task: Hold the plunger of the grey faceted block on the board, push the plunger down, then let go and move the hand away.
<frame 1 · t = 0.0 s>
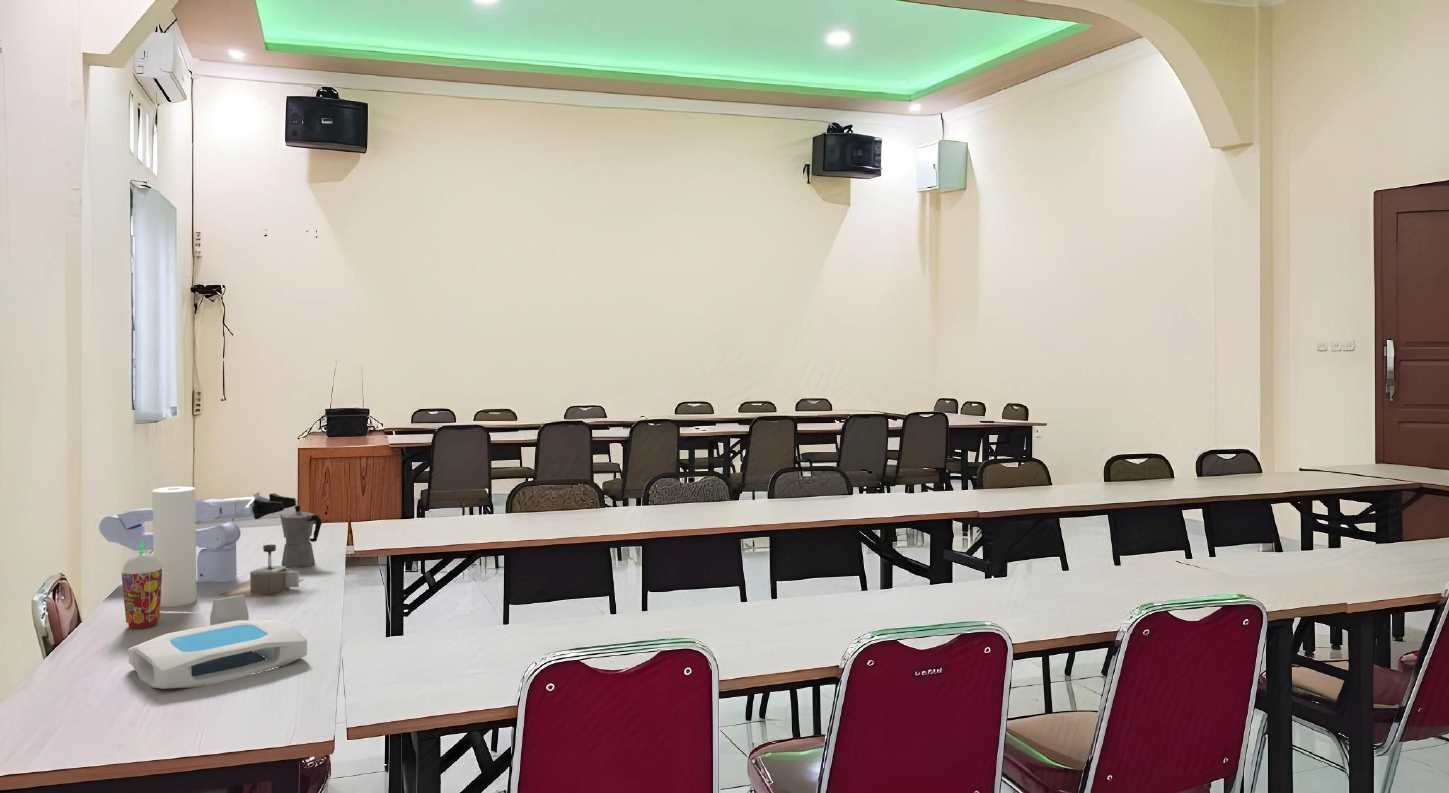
hand: (289, 504, 268), 22 cm above the table, tool horizontal, fingers open, 7 cm apart
coffeepot: (301, 565, 289), on the table
tea bag: (229, 642, 215), on the table
smoothie: (143, 626, 225), on the table
grey faceted block: (270, 589, 257), resting on board
plunger: (269, 560, 257), point 9 cm above the table, slide at 0.0 cm
board: (262, 589, 259), on the table
document scanner: (219, 667, 199), on the table
cylinder container: (175, 604, 244), on the table
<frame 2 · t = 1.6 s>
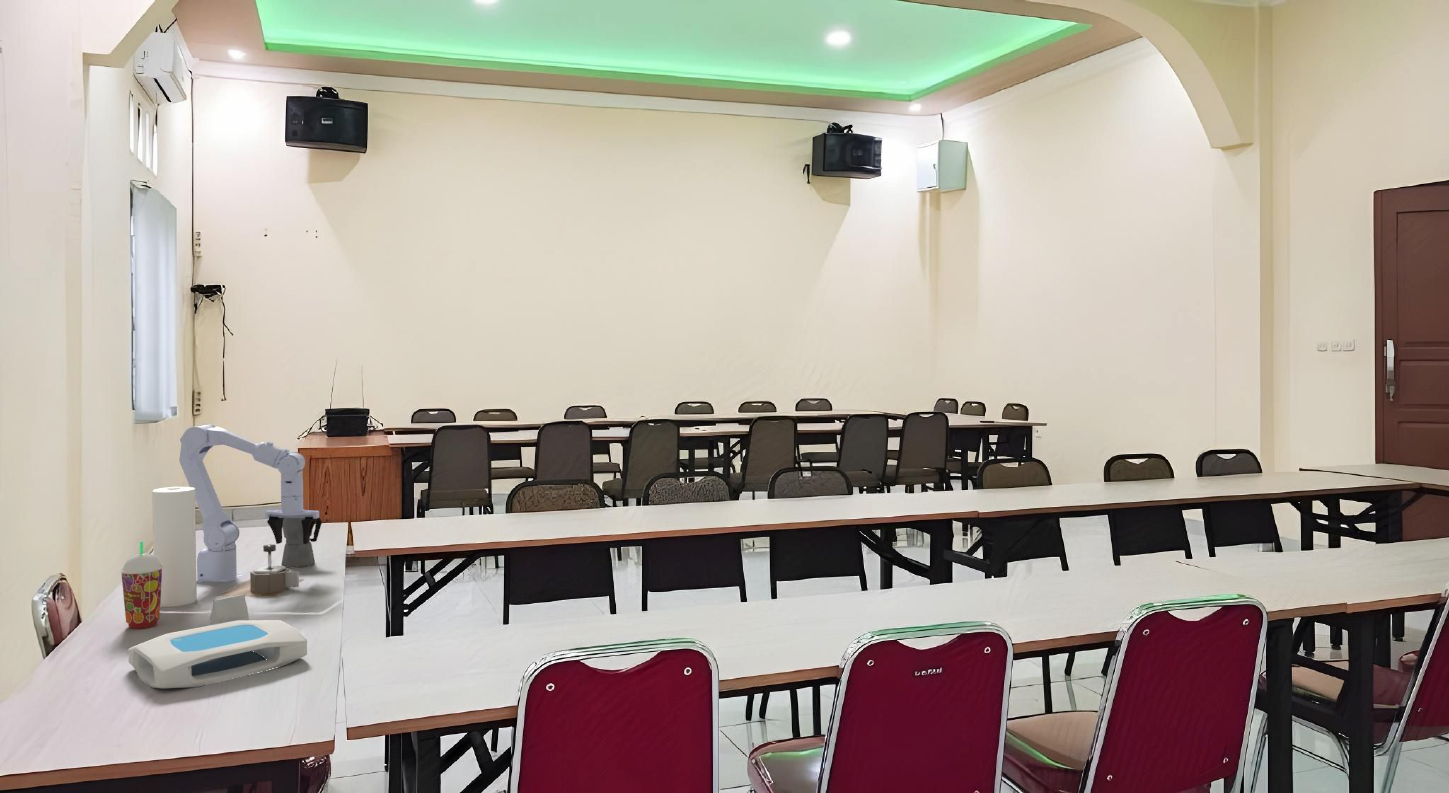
hand: (292, 543, 271), 10 cm above the table, tool pointing down, fingers open, 7 cm apart
nothing on the table moved.
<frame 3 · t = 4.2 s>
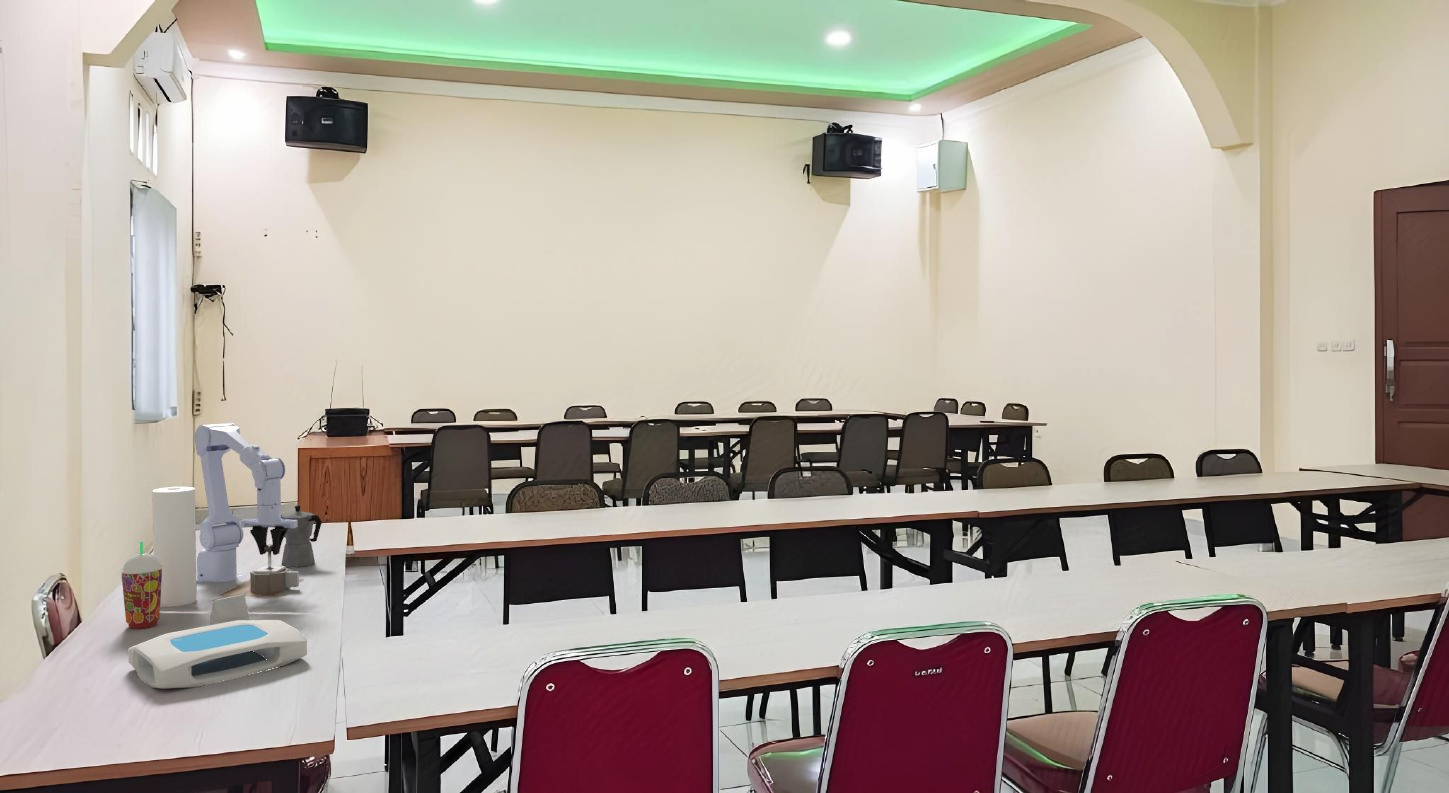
hand: (269, 553, 257), 10 cm above the table, tool pointing down, fingers closed on plunger, 3 cm apart
plunger: (269, 560, 257), point 9 cm above the table, slide at 0.0 cm, touching gripper
everything else where it was.
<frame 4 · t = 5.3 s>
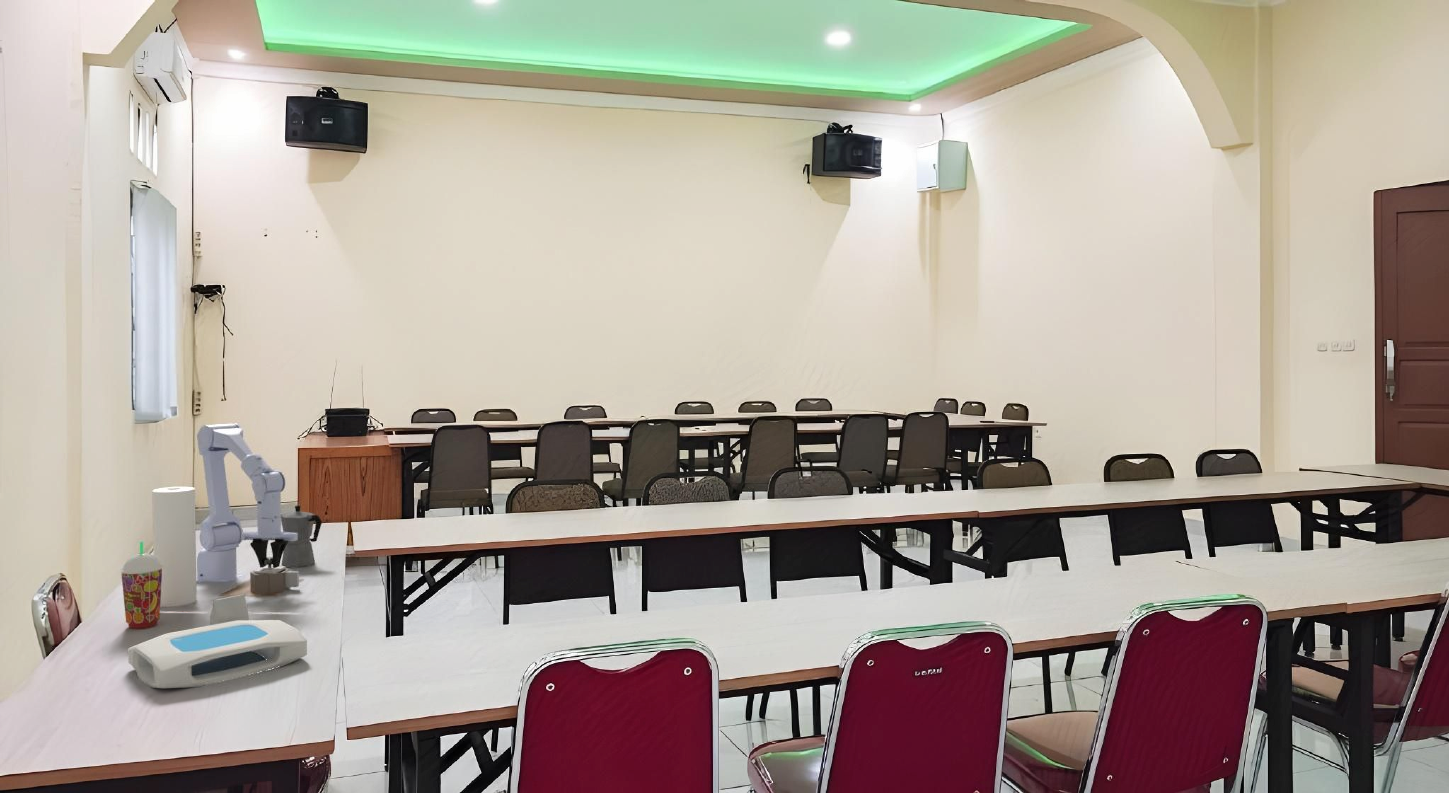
hand: (269, 566, 257), 7 cm above the table, tool pointing down, fingers closed on plunger, 3 cm apart
plunger: (269, 572, 257), point 5 cm above the table, slide at 3.5 cm, touching gripper
everything else where it was.
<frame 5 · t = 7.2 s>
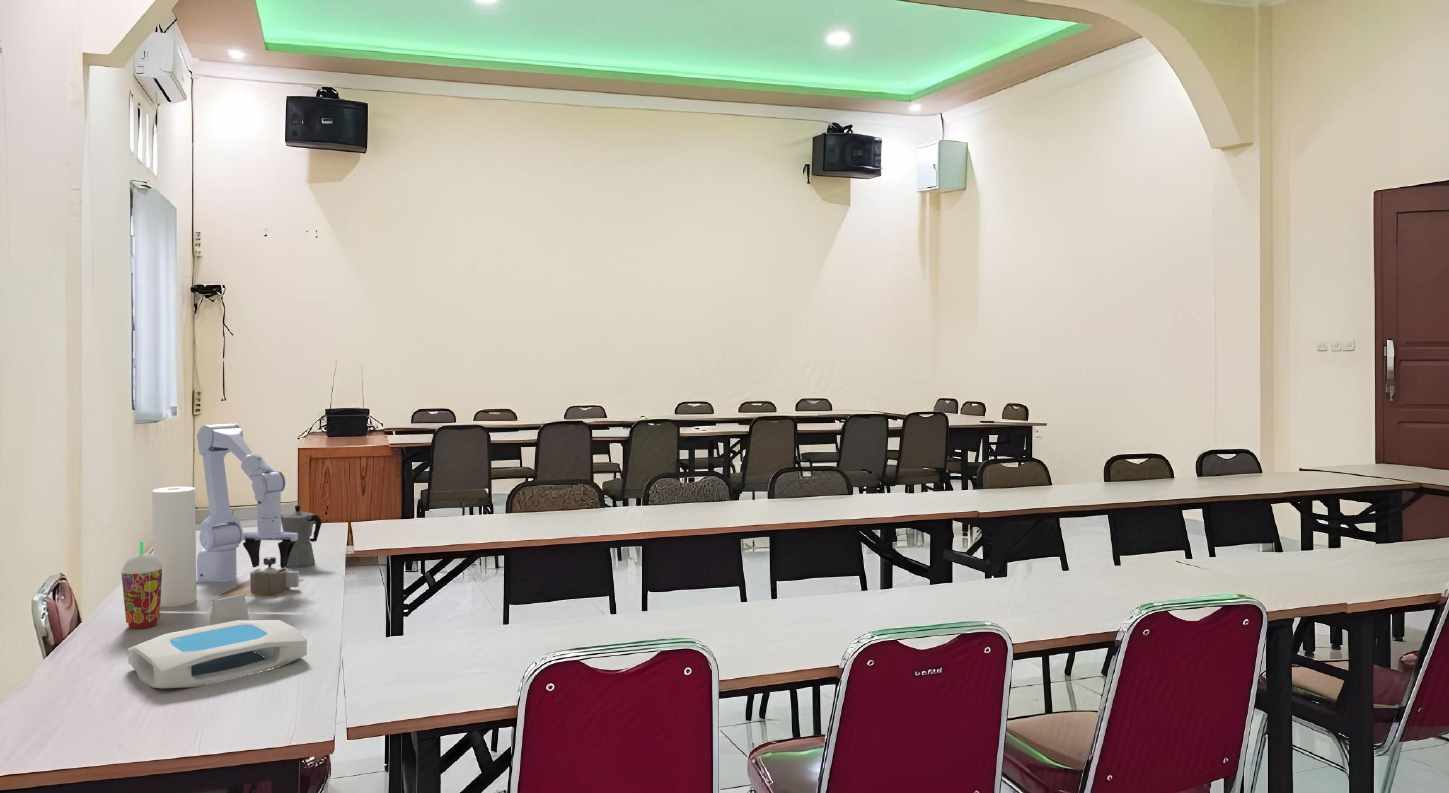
hand: (269, 566, 257), 7 cm above the table, tool pointing down, fingers open, 7 cm apart
plunger: (269, 572, 257), point 5 cm above the table, slide at 3.5 cm
everything else where it was.
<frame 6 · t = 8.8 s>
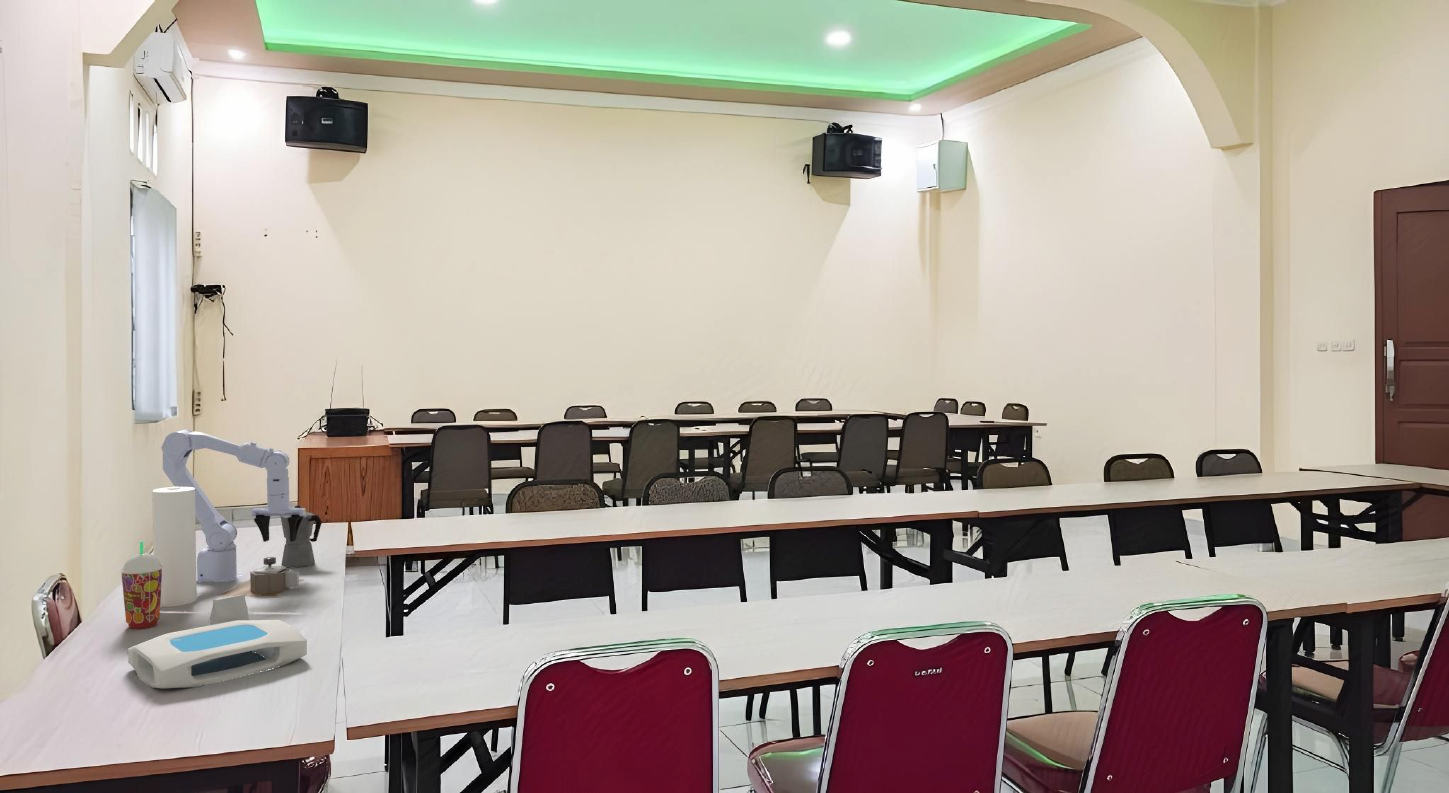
hand: (279, 540, 273), 10 cm above the table, tool pointing down, fingers open, 7 cm apart
nothing on the table moved.
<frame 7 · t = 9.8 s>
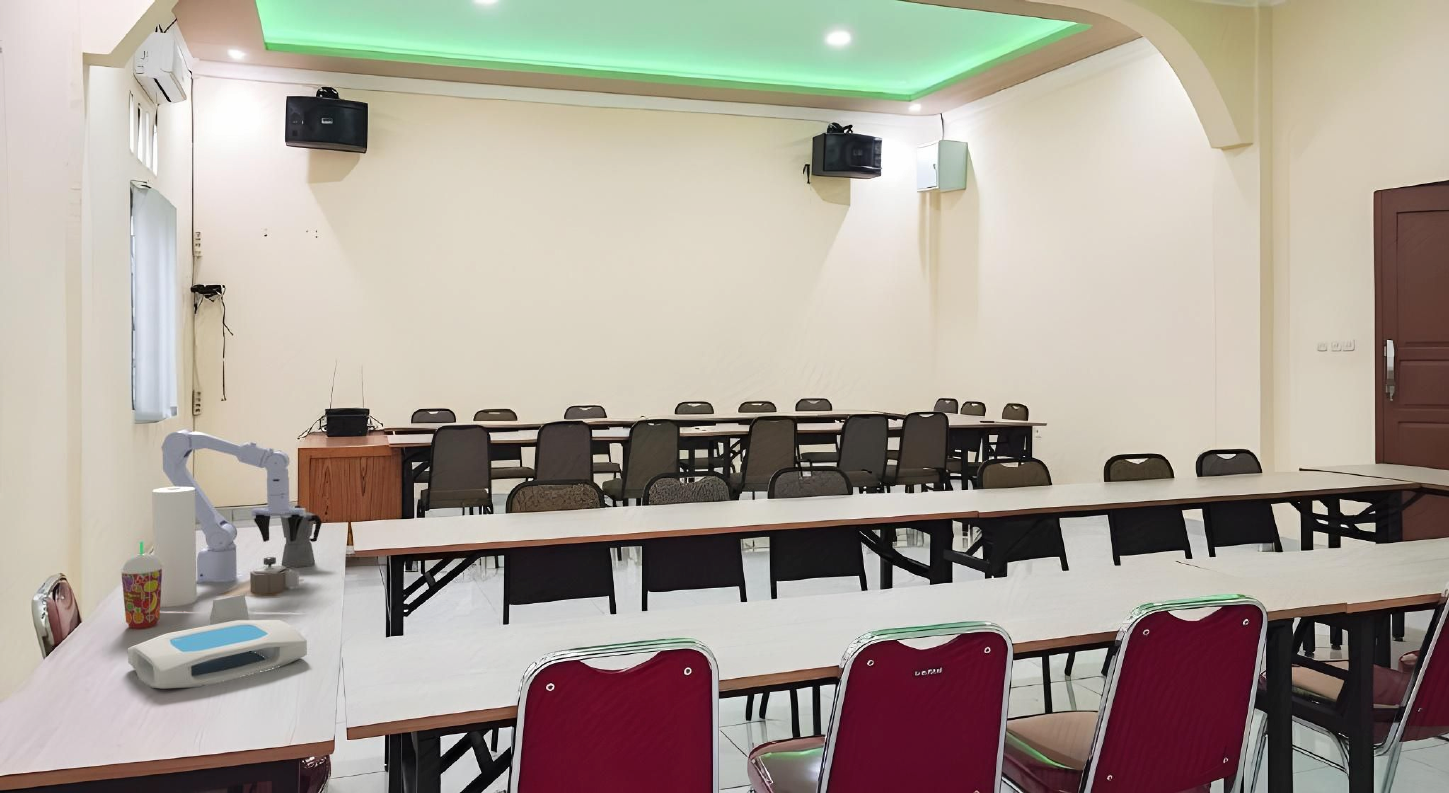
hand: (279, 540, 273), 10 cm above the table, tool pointing down, fingers open, 7 cm apart
nothing on the table moved.
at the end: plunger slide at 3.5 cm; the gripper is holding nothing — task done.
